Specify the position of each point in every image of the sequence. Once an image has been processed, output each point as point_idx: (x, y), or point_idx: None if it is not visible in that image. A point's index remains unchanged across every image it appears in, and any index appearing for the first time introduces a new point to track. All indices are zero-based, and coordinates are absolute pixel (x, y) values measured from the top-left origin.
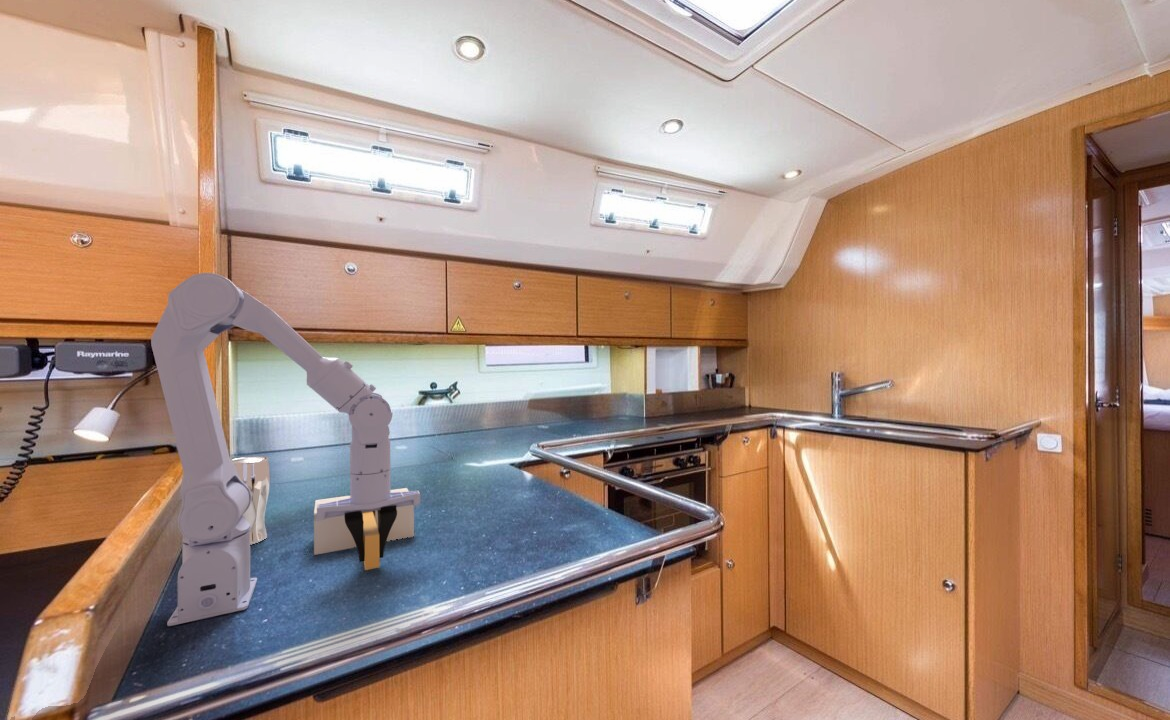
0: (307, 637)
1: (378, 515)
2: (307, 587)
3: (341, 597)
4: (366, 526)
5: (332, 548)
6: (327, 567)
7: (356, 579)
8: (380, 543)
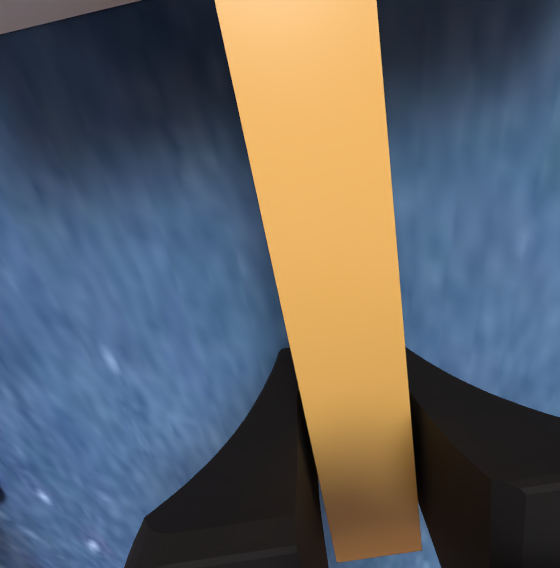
0: None
1: (469, 534)
2: (124, 411)
3: None
4: (328, 395)
5: (57, 8)
6: (130, 256)
7: None
8: None
